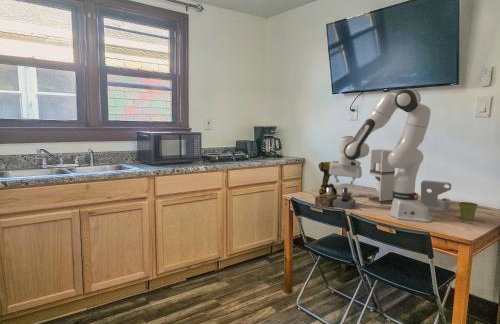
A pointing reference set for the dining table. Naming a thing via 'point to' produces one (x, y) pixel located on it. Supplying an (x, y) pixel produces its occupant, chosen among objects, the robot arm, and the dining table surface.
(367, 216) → the dining table surface
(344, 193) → the drill bit
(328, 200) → the bit rack
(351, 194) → the release key
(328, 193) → the racked bit
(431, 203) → the grey mounting bracket
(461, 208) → the plant pot
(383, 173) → the display case
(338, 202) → the socket block
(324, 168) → the power drill
